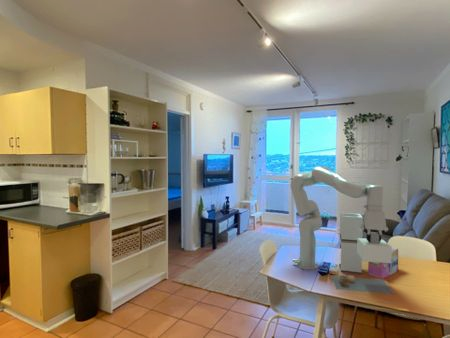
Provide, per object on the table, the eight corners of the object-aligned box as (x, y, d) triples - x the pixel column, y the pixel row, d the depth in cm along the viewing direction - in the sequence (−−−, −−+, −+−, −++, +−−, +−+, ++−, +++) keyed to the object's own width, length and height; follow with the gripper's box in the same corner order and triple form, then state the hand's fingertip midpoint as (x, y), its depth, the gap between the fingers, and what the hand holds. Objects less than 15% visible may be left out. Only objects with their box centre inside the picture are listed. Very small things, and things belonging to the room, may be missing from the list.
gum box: (386, 266, 178) (386, 245, 177) (399, 270, 172) (400, 248, 171) (367, 275, 164) (368, 253, 163) (381, 280, 157) (382, 257, 157)
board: (336, 290, 145) (336, 288, 145) (331, 277, 161) (331, 276, 161) (394, 296, 140) (395, 294, 140) (383, 282, 155) (383, 280, 155)
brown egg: (348, 282, 152) (348, 277, 152) (346, 280, 156) (346, 274, 156) (355, 283, 152) (355, 278, 151) (353, 280, 155) (353, 275, 155)
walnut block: (340, 286, 149) (341, 278, 148) (339, 282, 152) (339, 275, 152) (348, 286, 148) (349, 279, 148) (347, 283, 152) (347, 276, 152)
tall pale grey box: (358, 268, 173) (359, 213, 172) (361, 275, 163) (362, 217, 162) (339, 266, 177) (340, 212, 175) (340, 273, 167) (341, 216, 165)
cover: (363, 261, 143) (364, 235, 143) (357, 252, 156) (357, 229, 155) (391, 263, 141) (391, 237, 140) (382, 254, 153) (382, 230, 153)
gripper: (359, 208, 145) (358, 242, 146) (394, 209, 142) (393, 244, 143) (355, 206, 152) (355, 238, 153) (388, 207, 149) (388, 240, 150)
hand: (373, 241), depth 148 cm, fingers closed on cover, 4 cm apart
